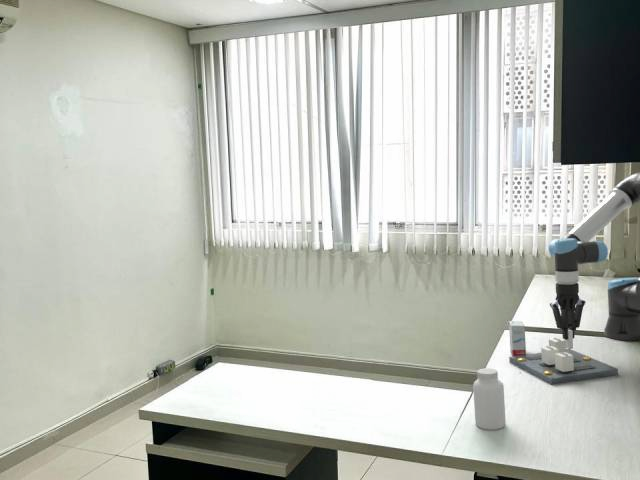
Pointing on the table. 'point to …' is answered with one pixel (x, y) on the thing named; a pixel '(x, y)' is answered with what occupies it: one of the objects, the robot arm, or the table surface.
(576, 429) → the table surface
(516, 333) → the ink box
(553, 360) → the slider
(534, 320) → the table surface
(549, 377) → the switch unit
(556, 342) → the slider
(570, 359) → the slider
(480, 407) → the pill bottle
